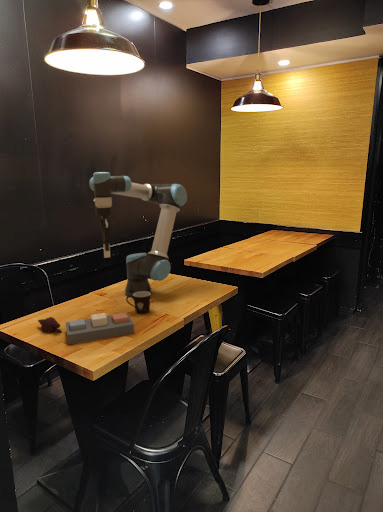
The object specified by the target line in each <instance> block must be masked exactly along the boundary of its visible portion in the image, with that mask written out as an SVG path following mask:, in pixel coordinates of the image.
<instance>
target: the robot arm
mask: <svg viewBox="0 0 383 512" xmlns="http://www.w3.org/2000/svg"><path fill="white" fill-rule="evenodd" d="M92 175H93V176H92V177H91V178H90V179H89V182H88V183H89V188H90V189H91V191H93V195H94V199H93V202H94V204H95V205H94V206H95V216H97V217H100V219H99V223H100V229H101V230H100V231H101V239H102V243H101V244H102V245H103V258H105V259H106V258H111V246H110V244H111V229H110V228H111V224H110V223H111V220H110V219H109V216H113V215H114V214H113V196H112V194H113V195H119V196H120V195H121V196H124V197H125V196H126V197H131V198H137V199H141V200H142V201H144V202H149V203H153V204H157V205H159V208H160V213H159V216H158V222H157V225H156V230H155V234H154V239H153V242H152V247H151V250H150V251H149V252H147V253H146V252H139V253H132V254H129V255H127V256H126V260H125V261H126V262H125V264H126V276H127V277H126V278H127V281H126V286H125V288H124V295H125V296H127V297H128V296H132V297H133V294H134V293H136V292H141V291H146V292H150V293H151V294H152V292H153V291H152V290H153V289H152V287H151V284H150V281H149V280H151V281H157V282H158V281H159V282H161V281H164V280H166V279H167V278H168V277H169V275H170V273H171V267H172V266H171V263H170V261H169V256H168V250H169V245H170V241H171V237H172V232H173V229H174V224H175V220H176V216H177V213H178V212H180V210H181V207H183V206H184V205H185V204H186V203H187V200H188V193H187V191H186V190H187V189H186V188H185V187H184V186H183V185H182V184H179V183H152V184H151V183H144V184H141V183H138V182H137V183H136V182H132V180H131V178H130V177H129V176H128V175H111V173H110V172H108V171H100V172H99V171H95V172H94V173H93V174H92Z"/></svg>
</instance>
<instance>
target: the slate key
mask: <svg viewBox="0 0 383 512" xmlns="http://www.w3.org/2000/svg"><path fill="white" fill-rule="evenodd" d="M84 319H85V318H80V319H75V320H69V321H68V322H69V323H70V331H73V330H80V329H86V327H85V321H84Z"/></svg>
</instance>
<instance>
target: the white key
mask: <svg viewBox="0 0 383 512" xmlns="http://www.w3.org/2000/svg"><path fill="white" fill-rule="evenodd" d="M106 316H107V315H106V312H102V313H101V312H100V313H94V314H90V318H91V324H92V327H98V326H104V325H107V317H106Z"/></svg>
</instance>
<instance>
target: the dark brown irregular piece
mask: <svg viewBox="0 0 383 512" xmlns="http://www.w3.org/2000/svg"><path fill="white" fill-rule="evenodd" d="M37 321H38V323H39V324H40V325H41V327H40V329H41V331H42V332H43V333H54V332H55V333H58V334H62V333H63V331H62V330H61V329H60V327H61V324H60V323H59V322H58V321H57V320H56V318H54V317H52V316H50V317H47V318H44V319H38V320H37Z"/></svg>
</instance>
